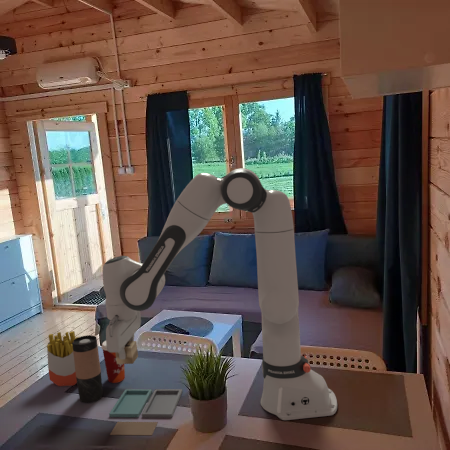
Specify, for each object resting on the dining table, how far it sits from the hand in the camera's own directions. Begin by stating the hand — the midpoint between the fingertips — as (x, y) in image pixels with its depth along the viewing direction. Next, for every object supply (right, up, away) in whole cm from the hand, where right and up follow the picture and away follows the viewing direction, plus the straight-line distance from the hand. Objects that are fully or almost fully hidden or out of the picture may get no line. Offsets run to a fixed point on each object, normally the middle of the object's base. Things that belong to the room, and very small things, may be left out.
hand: (127, 353), depth 135 cm
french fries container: (-25, -16, +20) cm, 36 cm away
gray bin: (+11, -16, +1) cm, 20 cm away
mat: (+4, -19, -10) cm, 22 cm away
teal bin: (+1, -17, +3) cm, 17 cm away
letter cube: (0, -2, 0) cm, 2 cm away
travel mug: (-13, -17, +8) cm, 23 cm away
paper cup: (-8, -15, +20) cm, 26 cm away
